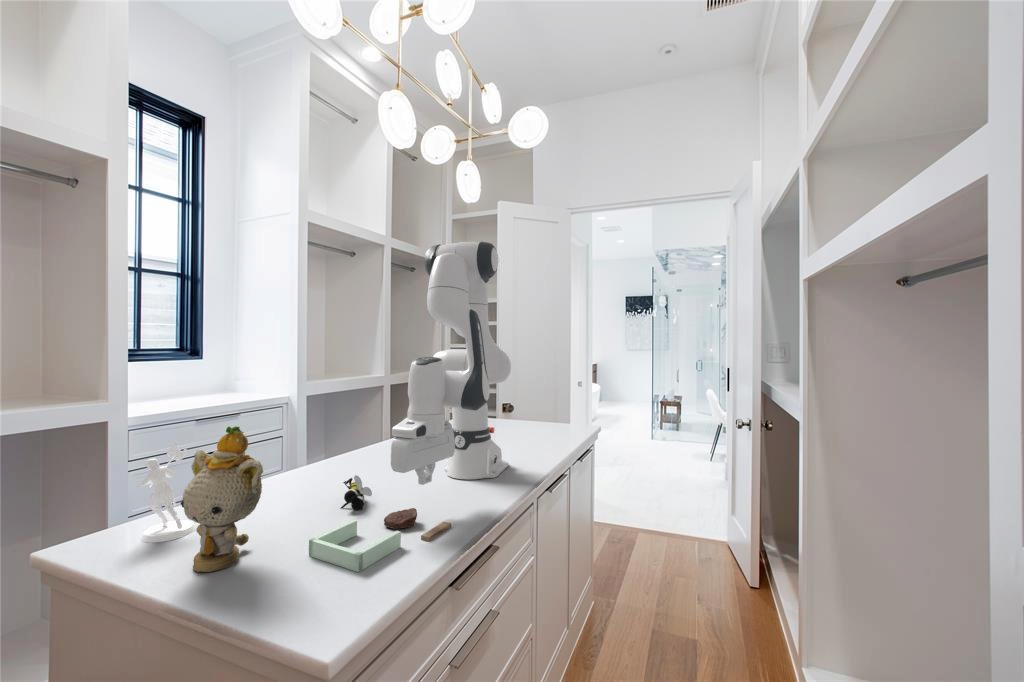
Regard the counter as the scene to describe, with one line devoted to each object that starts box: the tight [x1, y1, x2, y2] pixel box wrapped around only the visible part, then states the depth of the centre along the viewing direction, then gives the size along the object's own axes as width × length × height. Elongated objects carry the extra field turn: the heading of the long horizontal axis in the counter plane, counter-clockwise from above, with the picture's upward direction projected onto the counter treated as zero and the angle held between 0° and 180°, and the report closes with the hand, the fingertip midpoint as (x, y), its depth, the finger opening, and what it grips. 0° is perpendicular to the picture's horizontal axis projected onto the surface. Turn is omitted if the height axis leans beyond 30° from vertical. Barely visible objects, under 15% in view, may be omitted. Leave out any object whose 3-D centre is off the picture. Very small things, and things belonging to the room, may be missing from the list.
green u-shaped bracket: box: [308, 519, 402, 573], centre depth 86 cm, size 11×13×3 cm
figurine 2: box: [180, 426, 264, 573], centre depth 81 cm, size 11×18×25 cm, turn 61°
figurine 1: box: [137, 443, 197, 544], centre depth 94 cm, size 10×10×18 cm
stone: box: [383, 507, 418, 530], centre depth 98 cm, size 7×7×3 cm
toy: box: [340, 475, 373, 511], centre depth 111 cm, size 7×8×15 cm
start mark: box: [420, 521, 452, 542], centre depth 94 cm, size 8×2×1 cm, turn 153°
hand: (425, 483), depth 104 cm, fingers closed
